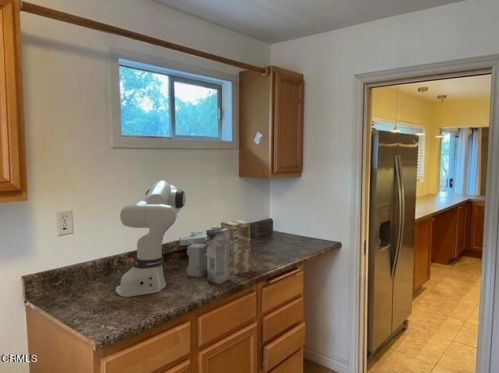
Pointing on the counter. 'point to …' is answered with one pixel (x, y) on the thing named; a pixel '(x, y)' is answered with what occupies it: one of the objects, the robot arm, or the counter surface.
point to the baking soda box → (235, 239)
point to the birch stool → (239, 246)
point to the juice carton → (218, 255)
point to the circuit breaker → (197, 260)
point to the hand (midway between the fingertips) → (200, 242)
